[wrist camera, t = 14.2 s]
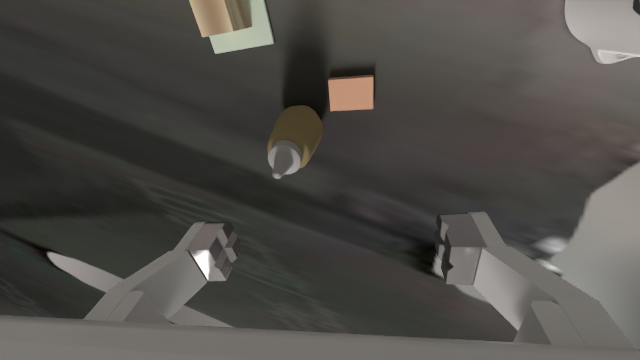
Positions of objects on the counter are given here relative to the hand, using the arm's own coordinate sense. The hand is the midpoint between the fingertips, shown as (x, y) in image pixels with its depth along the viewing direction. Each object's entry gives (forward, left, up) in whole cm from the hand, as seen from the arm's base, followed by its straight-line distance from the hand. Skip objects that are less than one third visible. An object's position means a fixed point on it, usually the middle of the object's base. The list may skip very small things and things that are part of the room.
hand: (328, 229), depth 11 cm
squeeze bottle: (+10, +9, -37) cm, 40 cm away
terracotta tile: (+1, +5, -38) cm, 38 cm away
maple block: (+17, -9, -36) cm, 41 cm away
